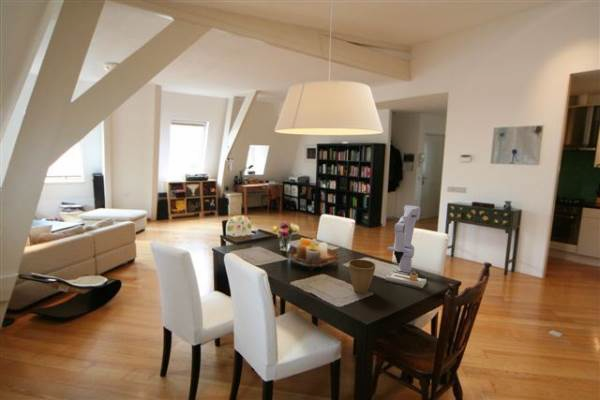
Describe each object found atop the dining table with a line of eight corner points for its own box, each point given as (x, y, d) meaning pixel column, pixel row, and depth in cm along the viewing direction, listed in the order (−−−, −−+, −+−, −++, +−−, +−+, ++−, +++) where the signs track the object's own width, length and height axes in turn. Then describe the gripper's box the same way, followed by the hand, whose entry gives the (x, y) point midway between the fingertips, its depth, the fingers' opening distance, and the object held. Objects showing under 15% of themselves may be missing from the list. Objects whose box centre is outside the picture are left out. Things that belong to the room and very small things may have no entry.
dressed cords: (392, 273, 214) (392, 271, 214) (427, 280, 203) (427, 278, 203) (384, 281, 201) (384, 279, 201) (420, 289, 189) (420, 287, 189)
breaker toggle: (410, 277, 201) (411, 270, 201) (417, 279, 199) (418, 272, 198) (409, 279, 199) (409, 272, 198) (416, 280, 197) (416, 273, 196)
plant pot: (350, 296, 180) (351, 268, 177) (345, 285, 194) (346, 259, 192) (377, 296, 180) (378, 268, 178) (370, 285, 195) (372, 259, 192)
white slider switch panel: (390, 274, 212) (390, 271, 211) (426, 282, 200) (426, 279, 199) (385, 279, 204) (385, 276, 204) (422, 287, 192) (422, 284, 192)
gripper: (386, 241, 205) (384, 262, 207) (409, 245, 197) (408, 267, 199) (389, 239, 211) (388, 259, 213) (412, 242, 203) (411, 263, 205)
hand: (398, 263), depth 206 cm, fingers closed
